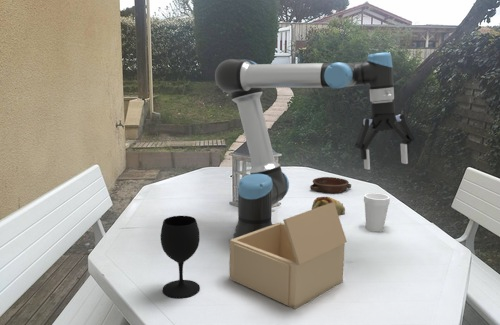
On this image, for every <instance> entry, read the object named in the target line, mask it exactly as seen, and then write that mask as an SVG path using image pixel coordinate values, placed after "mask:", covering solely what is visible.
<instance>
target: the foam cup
mask: <svg viewBox="0 0 500 325" xmlns="http://www.w3.org/2000/svg"><path fill="white" fill-rule="evenodd" d="M390 199H391V197H390V196H389V195H387V194H385V193H379V192H378V193H376V192H370V193H365V194H364V195H363V203H364V214H365V226H366V227H365V228H366V230H367V231H370V232H373V233H376V232H377V233H380V232H382V231H384V229H385V228H384V227H385V223H386V218H387V213H388V209H389V205H390Z"/></svg>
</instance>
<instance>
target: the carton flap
mask: <svg viewBox="0 0 500 325" xmlns="http://www.w3.org/2000/svg"><path fill="white" fill-rule="evenodd" d="M339 216H340V215H339ZM339 216H338V213H337V210H336V207H335V204H334V202H332V203H329V204H327V205H324V206H321V207H318V208H315V209H312V208H311V209H310V210H307V211H304V212H301V213H299V214H296V215H293V216H289V217H287V218H284V219H283V223H284V224H285V227H286V230H287V234H288V237H289V240H290V243H291V246H292V250H293V253H294V256H295V259H296V262H297V265H300V264H302V263H304V262H306V261H309V260H311V259H313V258H315V257H317V256H319V255H321V254H323V253H325V252H327V251H329V250H332V249H334V248H336V247H338V246H340V245H342V244H344V243H345V244H346V243H347V238H346V235H345V231H344V229H343V226H342V223H341V220H340V217H339Z"/></svg>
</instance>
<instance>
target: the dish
mask: <svg viewBox="0 0 500 325" xmlns="http://www.w3.org/2000/svg"><path fill="white" fill-rule="evenodd" d="M312 183H313V184H311V185H309V186H310V187H309V188H310V190H312V191H319V192H322V193H325V192H326V193H327V194H337V193H339V194H340V193H342V192H345V191H346V190H347V189H351V188H352V184H351V183H350V182H349V180H347V179H345V178H340V177H334V176H333V177H332V176H324V177H323V176H321V177H316V178H314V179H312ZM326 193H325V194H326Z"/></svg>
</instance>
